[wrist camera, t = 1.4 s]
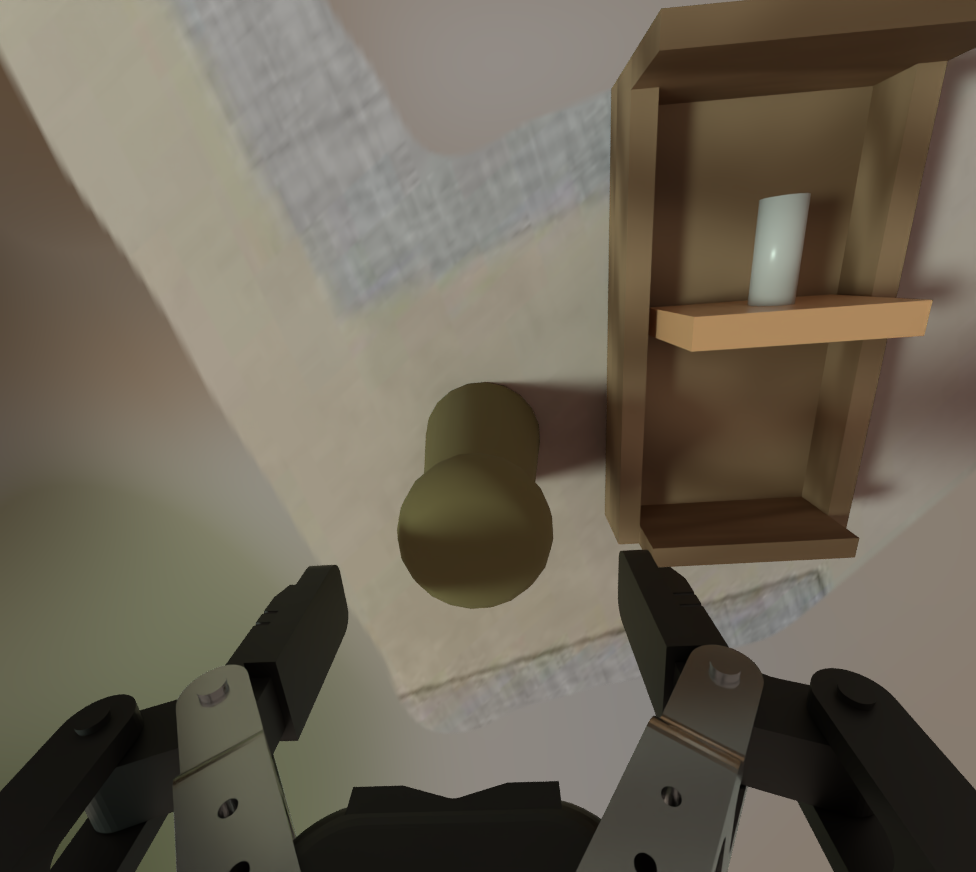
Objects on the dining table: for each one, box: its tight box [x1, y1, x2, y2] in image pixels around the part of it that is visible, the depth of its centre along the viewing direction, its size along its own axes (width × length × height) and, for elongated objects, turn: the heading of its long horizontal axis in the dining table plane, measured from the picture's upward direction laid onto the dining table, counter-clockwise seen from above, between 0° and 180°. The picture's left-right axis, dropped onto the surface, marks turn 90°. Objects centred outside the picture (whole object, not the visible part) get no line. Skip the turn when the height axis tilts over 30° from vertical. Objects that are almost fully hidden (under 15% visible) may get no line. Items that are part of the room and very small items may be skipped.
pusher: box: [648, 193, 933, 352], centre depth 17 cm, size 5×8×5 cm, turn 94°
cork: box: [397, 382, 553, 609], centre depth 19 cm, size 6×6×11 cm
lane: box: [605, 0, 976, 567], centre depth 19 cm, size 20×11×6 cm, turn 4°
